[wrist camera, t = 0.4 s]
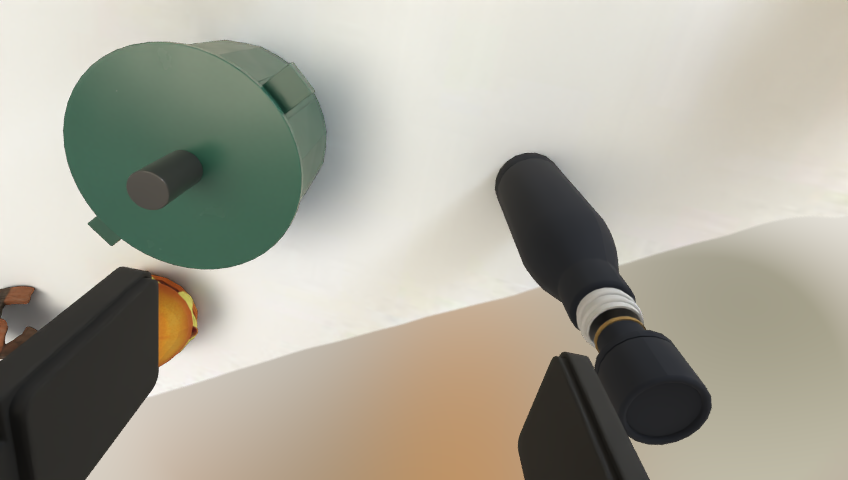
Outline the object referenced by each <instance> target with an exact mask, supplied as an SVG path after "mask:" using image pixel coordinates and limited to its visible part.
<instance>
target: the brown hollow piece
mask: <svg viewBox="0 0 848 480" xmlns="http://www.w3.org/2000/svg"><path fill="white" fill-rule="evenodd" d="M34 290H35V288H33V287H26V286H22V287H21V286H18V287H9V288H4V289H0V317H1V315H2V310H3V308H4V307H5V306H6V305H10V304H28V303H29V301H30V298H31V295H32V293H33V292H34ZM7 330H8V326H7V322H6V320H4V319H1V318H0V359H4V358H5V357H6V356H8V355H9V354H10V353H11V352H13V351H14V350H15V349H16V348H18V347H19V346H20V345H21V344H23V343H24V342H25V341H26V340H28V339H29V338H30V337H31V336H33V335H34V334H35V333H37V332H38V331H37V330H36V329H34V328H32V327H26V328H25V330H24V332H23V334H22V335H19V336H18V337H17V338H15V339H14V340H13V341H11V342H9V343H7V344H5V335H6V332H7Z"/></svg>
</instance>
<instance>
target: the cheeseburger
mask: <svg viewBox="0 0 848 480" xmlns="http://www.w3.org/2000/svg"><path fill="white" fill-rule="evenodd" d="M151 276H152V279H155V280H157V281H158V285H159V367H160V366H162V365H163V364H165V363H166V362H168V361H170V360H171V359H172V358H173V357H174V356H175V355H177V354H178V353H179V352H181V351H182V350H183V348H184V347H185V346H186V345H187V344H188V342H189V341H191V340H192V339H194V338H195V336H196V335H197V333H198V329H197V313H198V311H197V309H196V307H195V304H194V302H193V299H192V298H191V296H190V295H189V294H188V293H187V292H186V291H185V290H184V289H183V288H182V287H181V286H180V285H178V284H176V283H174V282H173V281H171V280H169V279H167V278H165V277H160V276H156V275H151Z"/></svg>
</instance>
